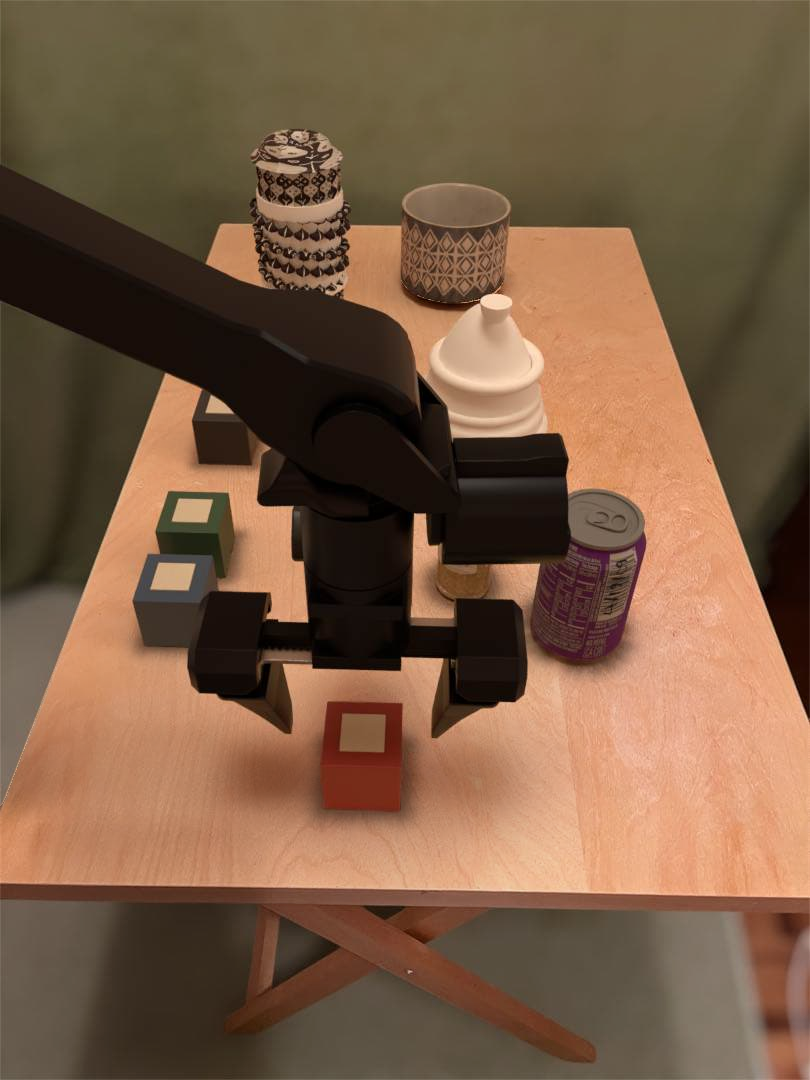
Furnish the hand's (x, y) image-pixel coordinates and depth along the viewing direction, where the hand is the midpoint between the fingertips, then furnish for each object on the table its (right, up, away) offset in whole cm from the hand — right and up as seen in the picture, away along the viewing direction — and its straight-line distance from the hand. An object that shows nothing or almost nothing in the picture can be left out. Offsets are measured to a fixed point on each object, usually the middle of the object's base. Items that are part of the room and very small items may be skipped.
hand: (361, 730), depth 58 cm
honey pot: (+9, +19, +29) cm, 36 cm away
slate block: (-15, +6, +13) cm, 21 cm away
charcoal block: (-14, +21, +30) cm, 39 cm away
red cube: (0, -4, +4) cm, 5 cm away
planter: (+8, +43, +55) cm, 70 cm away
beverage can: (+16, +5, +14) cm, 22 cm away
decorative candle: (-7, +29, +39) cm, 49 cm away
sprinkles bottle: (+7, +8, +17) cm, 21 cm away
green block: (-14, +11, +19) cm, 26 cm away
